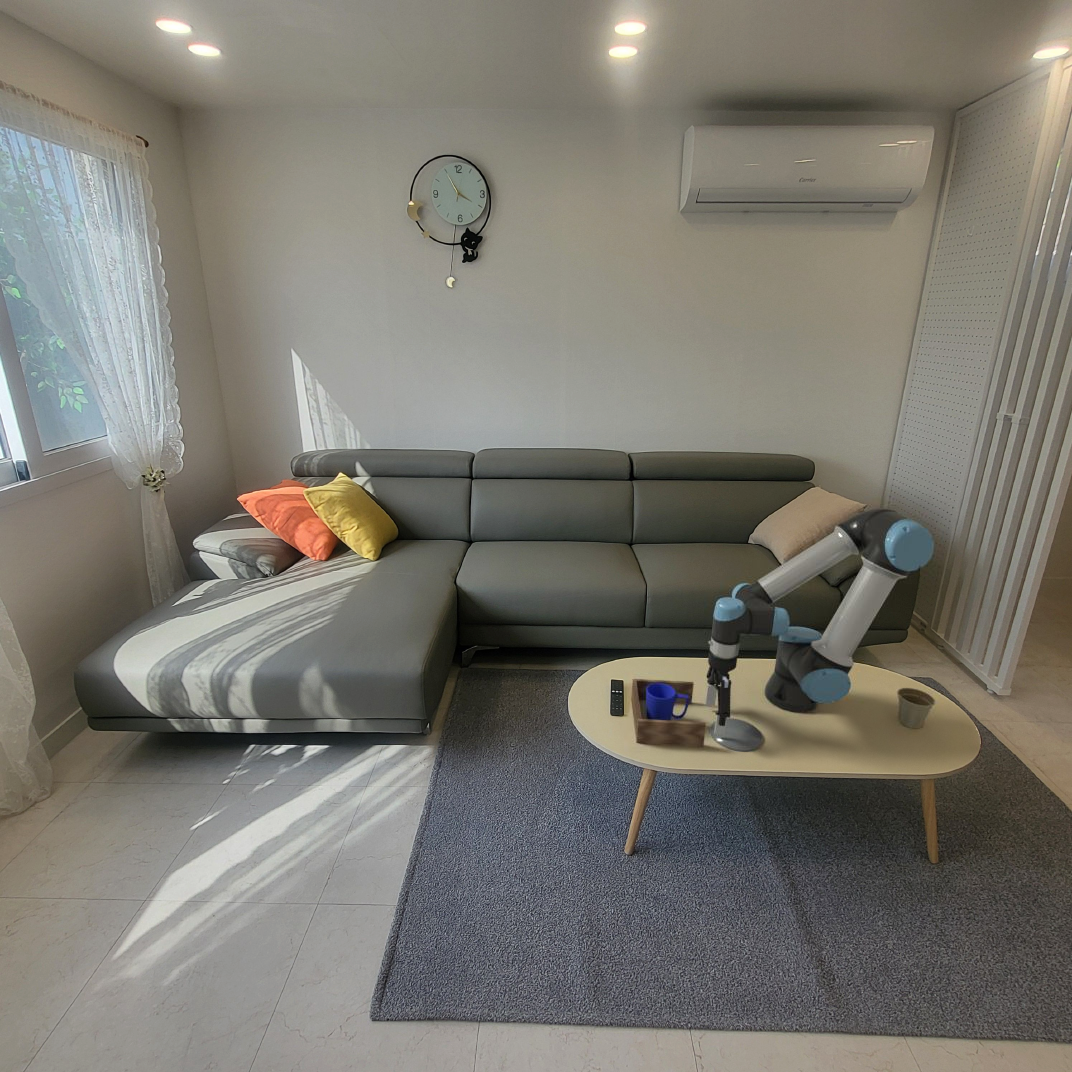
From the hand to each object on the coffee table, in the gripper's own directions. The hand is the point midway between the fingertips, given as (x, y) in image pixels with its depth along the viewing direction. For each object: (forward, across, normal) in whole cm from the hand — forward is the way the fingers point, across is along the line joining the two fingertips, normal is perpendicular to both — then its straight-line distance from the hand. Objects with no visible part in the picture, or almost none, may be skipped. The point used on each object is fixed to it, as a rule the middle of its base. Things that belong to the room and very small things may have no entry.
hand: (714, 718), depth 174 cm
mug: (+2, 0, -14) cm, 14 cm away
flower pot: (+2, -6, +57) cm, 58 cm away
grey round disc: (+2, +4, +5) cm, 7 cm away
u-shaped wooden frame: (+2, 0, -14) cm, 14 cm away
